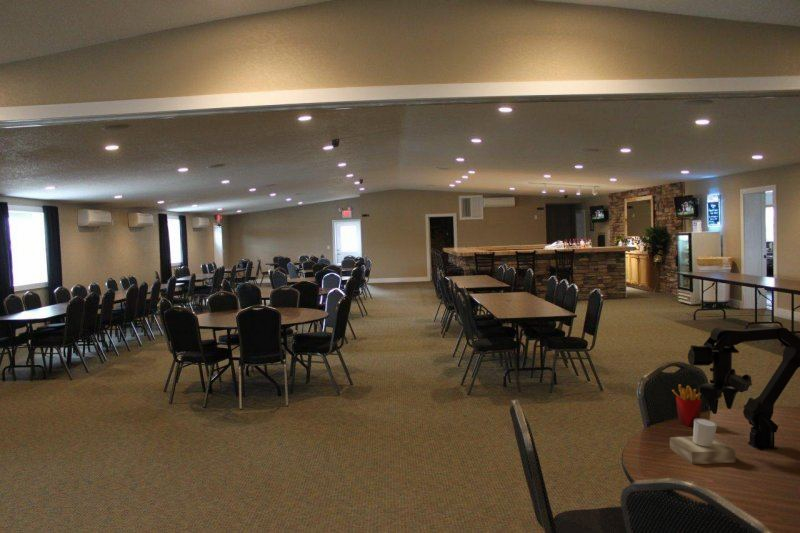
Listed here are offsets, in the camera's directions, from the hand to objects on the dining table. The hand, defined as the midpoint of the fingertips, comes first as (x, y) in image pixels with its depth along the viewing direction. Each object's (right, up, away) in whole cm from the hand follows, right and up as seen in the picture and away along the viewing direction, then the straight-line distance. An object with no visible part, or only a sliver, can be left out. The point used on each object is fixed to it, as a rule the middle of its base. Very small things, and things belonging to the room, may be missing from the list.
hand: (721, 411), depth 205 cm
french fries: (0, -11, +24) cm, 26 cm away
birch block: (-10, -13, -7) cm, 18 cm away
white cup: (-10, -9, -8) cm, 15 cm away
